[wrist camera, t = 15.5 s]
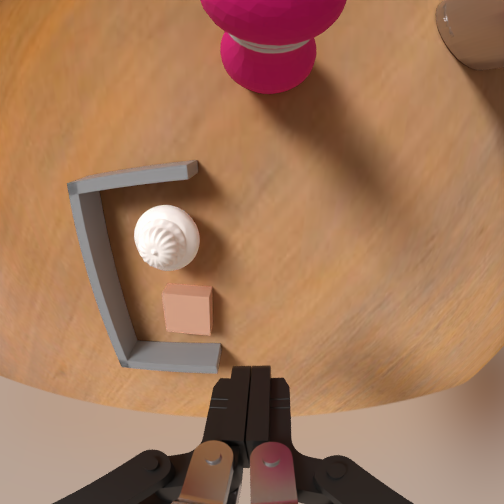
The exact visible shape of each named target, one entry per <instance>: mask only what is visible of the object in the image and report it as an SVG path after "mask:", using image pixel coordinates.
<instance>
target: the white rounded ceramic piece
mask: <svg viewBox="0 0 504 504" xmlns="http://www.w3.org/2000/svg"><path fill="white" fill-rule="evenodd" d="M134 239H135V244H136V247H137V249H138V251H139V253H140V256H141V257H142V258H143V260H144V261H145V262H147V263H148V264H149V265H150V266H153V267H155V268H157V269H160V270H164V271H173V270H178V269H181V268H183V267H185V266H186V265H188V264H189V263H190V262H191V261H192V260H193V259H194V257H195V256H196V254H197V252H198V249H199V243H200V236H199V231H198V228H197V226H196V223H195V222H194V221H193V218H191V217H190V216H189V214H187V213H186V212H185V211H184V210H181V209H180V208H179V207H175V206H172V205H160V206H156V207H153V208H151V209H149V210H147V211H146V212H145V213H144V214H143V215H142V216H141V217H140V218H139V220H138V222H137V224H136V227H135V232H134Z"/></svg>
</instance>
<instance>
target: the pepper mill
mask: <svg viewBox="0 0 504 504" xmlns="http://www.w3.org/2000/svg"><path fill="white" fill-rule="evenodd" d="M201 3H202V6H203V9H204V10H205V11H206V13H207V14H208V15H209V17H210V18H211V19H212V20H213V21H214V23H215V24H216V25H217V26H219V27H220V28H221V29H223V30H224V31H225V33H224V35H223V37H222V41H221V51H220V52H221V58H222V62H223V65H224V68H225V69H226V71H227V73H228V74H229V75H230V77H231V78H232V79H233V80H234V81H235V82H237V83H238V84H239V85H241V86H242V87H244V88H246V89H249V90H251V91H254V92H257V93H262V94H274V93H280V92H284V91H287V90H290V89H292V88H294V87H296V86H297V85H299V84H300V83H301V82H303V81H304V80H305V79H306V77H307V76H308V75H309V74H310V72H311V70H312V68H313V65H314V62H315V58H316V43H315V39H314V37H316V36H317V35H319V34H321V33H323V32H324V31H326V30H327V29H328V28H329V27H330V26H331V25H332V24H333V23H334V22H335V21H336V20H337V19H338V17H339V16H340V14H341V13H342V11H343V9H344V6H345V4H346V0H201Z"/></svg>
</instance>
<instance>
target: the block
mask: <svg viewBox="0 0 504 504" xmlns="http://www.w3.org/2000/svg"><path fill="white" fill-rule="evenodd" d="M162 300H163V308H164V316H165V323H166V330H167V331H170V332H178V333H188V334H198V335H209V336H210V335H211V331H212V327H213V299H212V286H199V285H186V284H173V283H167V285H166V287H165V288H164V290H163V292H162Z"/></svg>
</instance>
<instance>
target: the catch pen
mask: <svg viewBox="0 0 504 504" xmlns="http://www.w3.org/2000/svg"><path fill="white" fill-rule="evenodd" d="M197 173H198V164H197V160H191V161H182V162H173V163H165V164H158V165H150V166H143V167H136V168H130V169H124V170H118V171H112V172H106V173H101V174H95V175H90V176H86V177H83V178H81V179H78V180H75V181H72V182H70V183H67V186H68V192H69V198H70V203H71V208H72V213H73V218H74V223H75V227H76V231H77V236H78V240H79V244H80V248H81V252H82V255H83V259H84V263H85V266H86V270H87V273H88V277H89V280H90V283H91V286H92V290H93V293H94V296H95V299H96V302H97V305H98V308H99V311H100V313H101V316H102V319H103V322H104V324H105V327H106V330H107V332H108V335H109V337H110V340H111V343H112V345H113V347H114V350H115V352H116V355H117V357H118V359H119V362H120V364H121V366H122V367H127V368H136V369H146V370H158V371H172V372H189V373H218V368H219V362H220V357H221V351H222V350H221V344H220V343H176V342H154V341H138V340H137V337H136V334H135V331H134V328H133V325H132V322H131V319H130V316H129V313H128V310H127V306H126V303H125V300H124V296H123V293H122V289H121V286H120V282H119V279H118V275H117V271H116V267H115V263H114V259H113V255H112V251H111V246H110V242H109V238H108V233H107V228H106V223H105V218H104V213H103V208H102V202H101V197H100V191H99V190H106V189H112V188H119V187H126V186H134V185H141V184H149V183H158V182H167V181H176V180H186V179H189V178H191V177H192V176H194V175H195V174H197Z"/></svg>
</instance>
